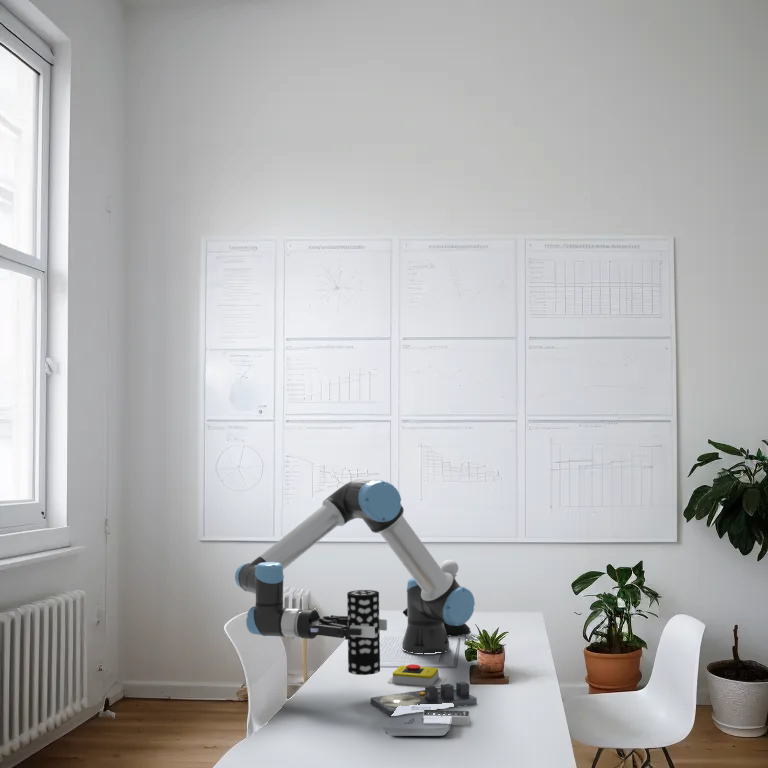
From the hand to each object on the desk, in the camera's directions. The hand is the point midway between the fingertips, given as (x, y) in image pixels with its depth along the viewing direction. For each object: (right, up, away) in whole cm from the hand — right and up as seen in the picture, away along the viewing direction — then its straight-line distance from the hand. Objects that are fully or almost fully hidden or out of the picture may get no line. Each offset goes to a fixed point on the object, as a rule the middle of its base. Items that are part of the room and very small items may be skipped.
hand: (380, 628), depth 218 cm
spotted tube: (-4, -11, +1) cm, 12 cm away
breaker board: (+11, -17, -6) cm, 21 cm away
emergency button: (+10, -20, +16) cm, 27 cm away
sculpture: (+19, -24, +79) cm, 85 cm away
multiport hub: (+16, -17, -20) cm, 30 cm away
